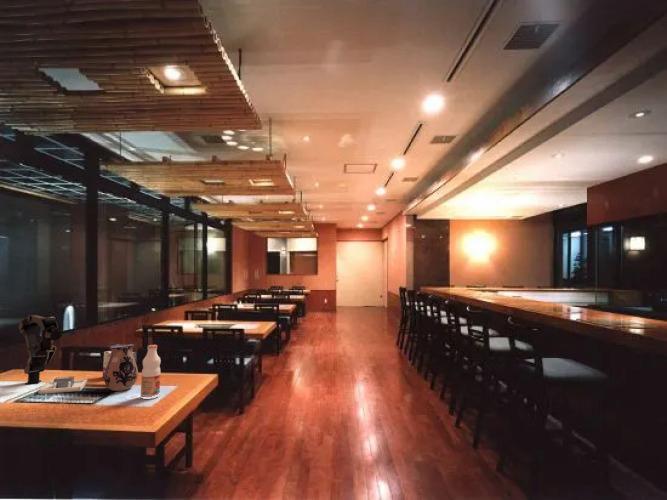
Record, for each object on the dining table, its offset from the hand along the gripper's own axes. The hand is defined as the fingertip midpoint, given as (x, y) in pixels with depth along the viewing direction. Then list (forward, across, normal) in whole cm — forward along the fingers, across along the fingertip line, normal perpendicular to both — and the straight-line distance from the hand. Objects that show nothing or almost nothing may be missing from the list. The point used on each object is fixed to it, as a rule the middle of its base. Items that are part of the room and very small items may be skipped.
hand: (45, 365), depth 236 cm
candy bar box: (+12, -10, +34) cm, 38 cm away
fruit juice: (+12, +41, +60) cm, 74 cm away
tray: (+12, +8, +12) cm, 19 cm away
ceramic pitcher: (+12, +18, +42) cm, 47 cm away
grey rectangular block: (+11, +8, +12) cm, 18 cm away
